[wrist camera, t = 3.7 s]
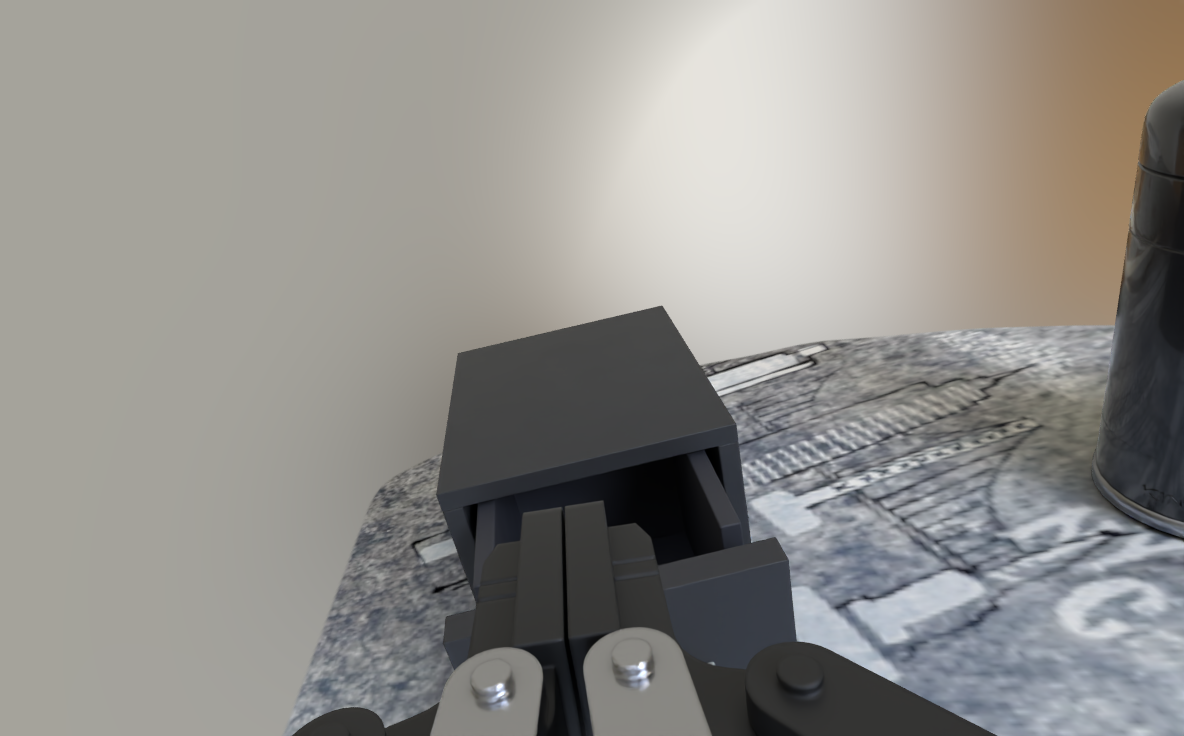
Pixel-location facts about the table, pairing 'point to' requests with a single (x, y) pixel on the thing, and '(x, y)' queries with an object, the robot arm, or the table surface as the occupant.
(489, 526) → the dark grey drawer
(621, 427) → the grey drawer cabinet
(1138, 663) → the table surface
